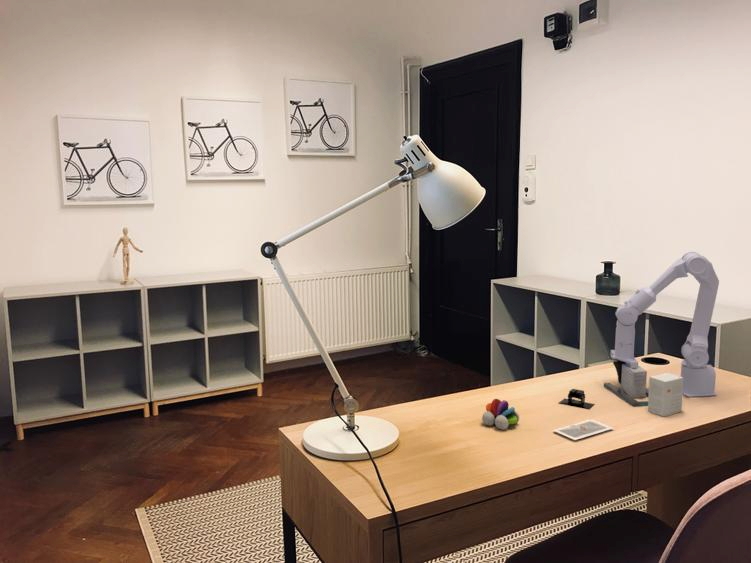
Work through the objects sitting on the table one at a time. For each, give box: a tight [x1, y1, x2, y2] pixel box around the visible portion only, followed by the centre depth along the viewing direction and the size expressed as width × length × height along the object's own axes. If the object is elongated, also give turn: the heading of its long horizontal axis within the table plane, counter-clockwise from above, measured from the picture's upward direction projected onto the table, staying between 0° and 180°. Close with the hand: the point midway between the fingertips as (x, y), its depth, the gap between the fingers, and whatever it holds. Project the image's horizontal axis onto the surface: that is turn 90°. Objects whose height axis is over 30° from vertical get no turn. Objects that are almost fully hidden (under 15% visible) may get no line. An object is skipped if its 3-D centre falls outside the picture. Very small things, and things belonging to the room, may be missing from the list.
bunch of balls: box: [481, 398, 520, 431], centre depth 180 cm, size 8×10×7 cm
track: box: [603, 382, 649, 408], centre depth 202 cm, size 11×19×1 cm, turn 6°
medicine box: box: [620, 364, 648, 399], centre depth 202 cm, size 8×4×9 cm, turn 6°
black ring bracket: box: [558, 388, 596, 411], centre depth 195 cm, size 12×7×5 cm, turn 54°
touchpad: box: [552, 418, 614, 441], centre depth 174 cm, size 8×15×2 cm, turn 121°
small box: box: [647, 372, 684, 418], centre depth 187 cm, size 8×6×10 cm
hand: (622, 383), depth 209 cm, fingers closed
